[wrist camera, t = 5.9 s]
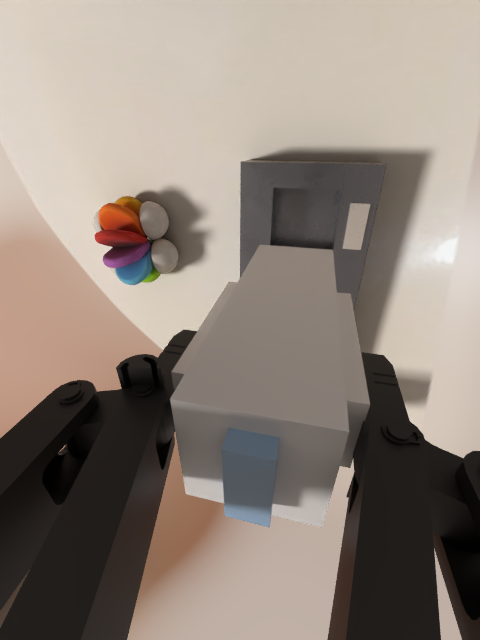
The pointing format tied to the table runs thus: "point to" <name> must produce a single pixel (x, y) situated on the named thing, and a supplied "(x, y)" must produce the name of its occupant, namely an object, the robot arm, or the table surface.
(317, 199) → the panel
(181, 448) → the plug
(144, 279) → the rainbow petal toy
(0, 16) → the table surface
